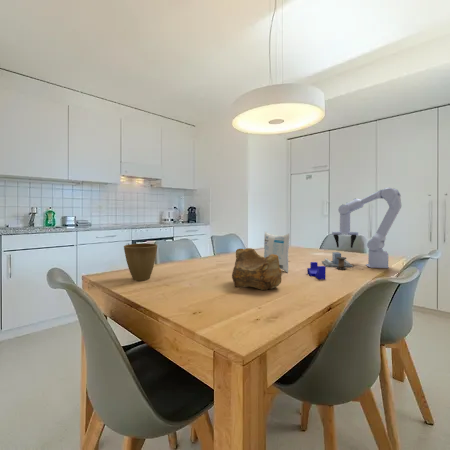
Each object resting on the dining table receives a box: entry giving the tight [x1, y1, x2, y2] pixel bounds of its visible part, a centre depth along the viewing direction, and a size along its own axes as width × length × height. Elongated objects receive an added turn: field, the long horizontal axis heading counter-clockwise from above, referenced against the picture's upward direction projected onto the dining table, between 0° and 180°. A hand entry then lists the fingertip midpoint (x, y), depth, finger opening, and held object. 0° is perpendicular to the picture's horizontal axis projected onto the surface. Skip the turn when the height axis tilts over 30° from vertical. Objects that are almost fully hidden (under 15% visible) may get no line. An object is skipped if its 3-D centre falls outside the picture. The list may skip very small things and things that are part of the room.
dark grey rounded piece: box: [335, 256, 347, 271], centre depth 152 cm, size 5×5×6 cm
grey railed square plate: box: [321, 258, 354, 268], centre depth 163 cm, size 14×14×2 cm
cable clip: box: [307, 261, 327, 280], centre depth 134 cm, size 12×4×6 cm, turn 1°
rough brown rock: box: [231, 247, 282, 291], centre depth 116 cm, size 23×17×15 cm
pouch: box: [263, 231, 290, 274], centre depth 150 cm, size 8×19×20 cm, turn 28°
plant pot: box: [123, 242, 158, 282], centre depth 130 cm, size 15×15×16 cm
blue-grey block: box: [331, 251, 342, 264], centre depth 162 cm, size 4×6×6 cm, turn 171°
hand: (344, 247), depth 168 cm, fingers open, 7 cm apart
